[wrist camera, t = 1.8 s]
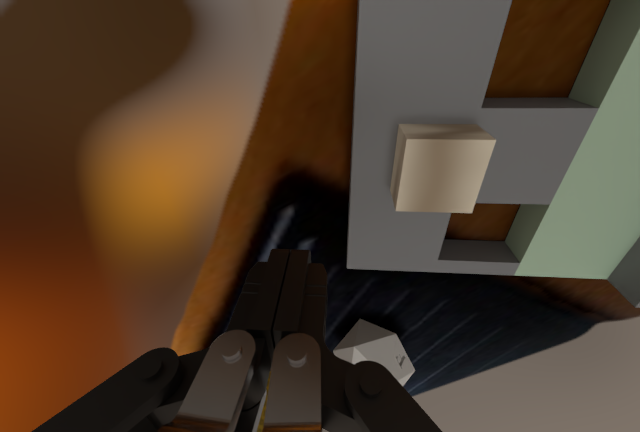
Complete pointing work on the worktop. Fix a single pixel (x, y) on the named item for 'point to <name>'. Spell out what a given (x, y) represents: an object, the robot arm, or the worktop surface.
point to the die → (375, 349)
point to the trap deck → (499, 146)
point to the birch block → (439, 167)
